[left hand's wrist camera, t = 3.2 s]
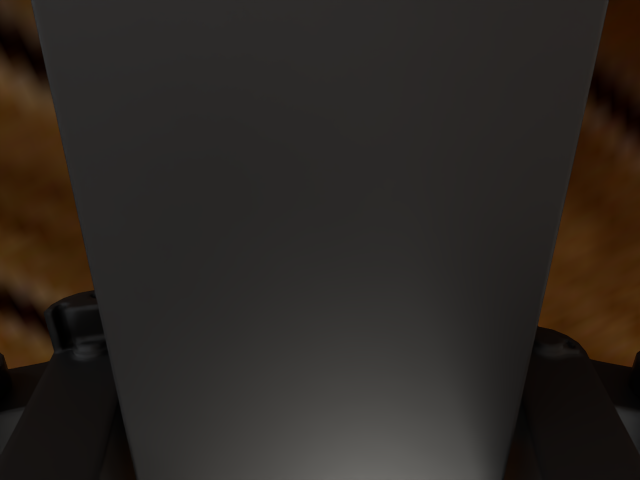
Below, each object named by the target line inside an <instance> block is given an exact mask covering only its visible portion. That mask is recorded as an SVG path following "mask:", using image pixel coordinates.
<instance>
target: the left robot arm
mask: <svg viewBox="0 0 640 480" xmlns="http://www.w3.org/2000/svg"><path fill="white" fill-rule="evenodd" d="M44 316H45V319H46V323H47V326H48V330H49V334H50V337H51V341H52V345H53V348H54V354H53V356H52V358H51V359H50V361H48V362H44V363H39V364H34V365H29V366H24V367H18V368H13V369H8V368H7V365H6V361H5V358H4V355H2V354H1V353H0V480H136V476H135V472H134V467H133V463H132V458H131V454H130V449H129V445H128V440H127V435H126V431H125V426H124V422H123V417H122V413H121V408H120V404H119V399H118V394H117V390H116V385H115V381H114V376H113V372H112V367H111V363H110V358H109V353H108V349H107V344H106V340H105V335H104V331H103V326H102V322H101V317H100V312H99V308H98V303H97V299H96V294H95V290H93V291H87V292H82V293H78V294H75V295H72V296H69V297H66V298H63V299H61V300H59V301H58V302H56V303H54V304H52V305H51V306H50V307H49V308H48V309H47V310H46V311H45V312H44ZM504 480H640V351H639V352H638V353H637V354H636V357H635V360H634V363H633V366H632V367H627V366H621V365H616V364H611V363H605V362H600V361H595V360H591V359H589V357H588V355H587V353H586V351H585V350H584V349H583V348H582V346H581V345H580V344H579V343H578V342H576V341H575V340H573V339H572V338H570V337H569V336H567V335H565V334H562V333H560V332H557V331H555V330H552V329H547V328H542V327H538V325H537V330H536V334H535V339H534V344H533V348H532V353H531V357H530V362H529V366H528V371H527V376H526V380H525V385H524V389H523V394H522V398H521V403H520V407H519V412H518V417H517V421H516V426H515V430H514V435H513V439H512V444H511V448H510V453H509V458H508V462H507V467H506V471H505V476H504Z"/></svg>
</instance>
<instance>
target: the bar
mask: <svg viewBox="0 0 640 480" xmlns="http://www.w3.org/2000/svg"><path fill="white" fill-rule="evenodd" d="M608 2H609V0H31V3H32V7H33V12H34V16H35V21H36V25H37V30H38V34H39V39H40V44H41V48H42V53H43V57H44V62H45V66H46V71H47V75H48V80H49V85H50V89H51V94H52V98H53V103H54V107H55V112H56V116H57V121H58V126H59V130H60V135H61V139H62V144H63V148H64V153H65V158H66V162H67V167H68V171H69V176H70V180H71V185H72V189H73V194H74V199H75V203H76V208H77V212H78V217H79V221H80V226H81V230H82V235H83V240H84V244H85V249H86V253H87V258H88V262H89V267H90V271H91V276H92V281H93V285H94V290H95V294H96V299H97V303H98V308H99V312H100V317H101V322H102V326H103V331H104V335H105V340H106V344H107V349H108V353H109V358H110V363H111V367H112V372H113V376H114V381H115V385H116V390H117V394H118V399H119V404H120V408H121V413H122V417H123V422H124V426H125V431H126V435H127V440H128V445H129V449H130V454H131V458H132V463H133V467H134V472H135V476H136V480H504V476H505V471H506V467H507V462H508V458H509V453H510V448H511V444H512V439H513V435H514V430H515V426H516V421H517V417H518V412H519V407H520V403H521V398H522V394H523V389H524V385H525V380H526V376H527V371H528V366H529V362H530V357H531V353H532V348H533V344H534V339H535V334H536V330H537V325H538V321H539V316H540V312H541V307H542V303H543V298H544V293H545V289H546V284H547V280H548V275H549V271H550V266H551V262H552V257H553V252H554V248H555V243H556V239H557V234H558V230H559V225H560V220H561V216H562V211H563V207H564V202H565V198H566V193H567V189H568V184H569V179H570V175H571V170H572V166H573V161H574V157H575V152H576V148H577V143H578V138H579V134H580V129H581V125H582V120H583V116H584V111H585V106H586V102H587V97H588V93H589V88H590V84H591V79H592V75H593V70H594V65H595V61H596V56H597V52H598V47H599V43H600V38H601V33H602V29H603V24H604V20H605V15H606V11H607V6H608Z"/></svg>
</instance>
